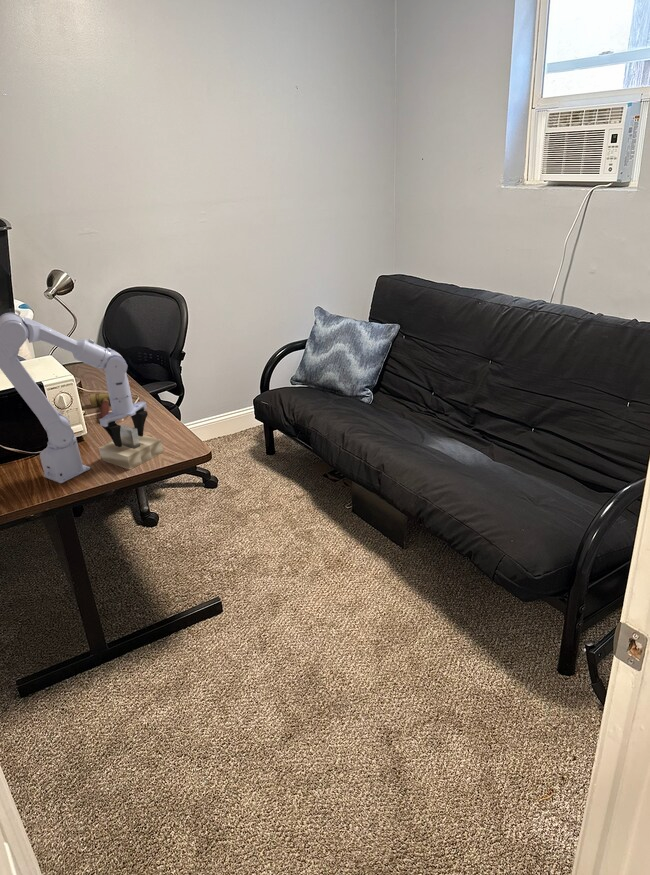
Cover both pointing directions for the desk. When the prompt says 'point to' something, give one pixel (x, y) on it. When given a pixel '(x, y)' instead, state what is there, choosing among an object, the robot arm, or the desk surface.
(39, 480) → the desk surface
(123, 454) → the beige compartment tray
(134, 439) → the frosted upright panel
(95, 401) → the gavel
